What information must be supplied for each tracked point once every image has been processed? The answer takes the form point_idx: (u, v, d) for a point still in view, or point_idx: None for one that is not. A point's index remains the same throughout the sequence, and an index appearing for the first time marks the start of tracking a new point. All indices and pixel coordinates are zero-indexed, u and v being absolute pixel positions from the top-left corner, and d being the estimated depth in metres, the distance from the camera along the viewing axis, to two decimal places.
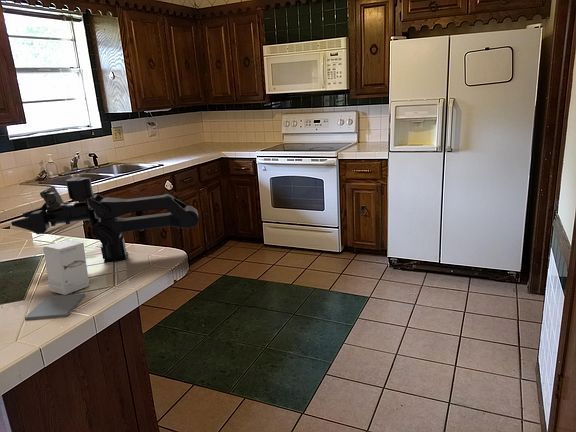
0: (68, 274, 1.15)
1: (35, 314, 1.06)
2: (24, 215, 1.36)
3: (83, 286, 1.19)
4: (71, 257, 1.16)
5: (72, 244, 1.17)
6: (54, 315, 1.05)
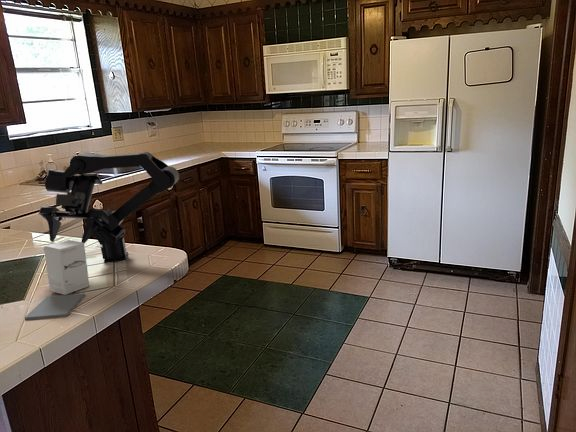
0: (68, 274, 1.15)
1: (35, 314, 1.06)
2: (52, 240, 1.27)
3: (83, 286, 1.19)
4: (72, 257, 1.16)
5: (73, 244, 1.17)
6: (54, 315, 1.05)
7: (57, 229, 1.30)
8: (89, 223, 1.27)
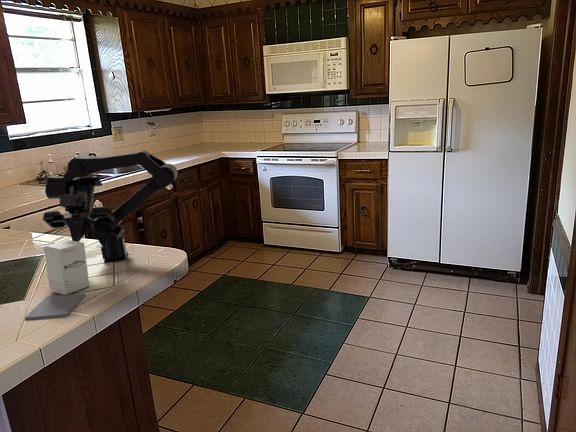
0: (68, 274, 1.15)
1: (35, 314, 1.06)
2: None
3: (83, 286, 1.19)
4: (72, 257, 1.16)
5: (73, 244, 1.17)
6: (54, 315, 1.05)
7: None
8: (80, 222, 1.26)
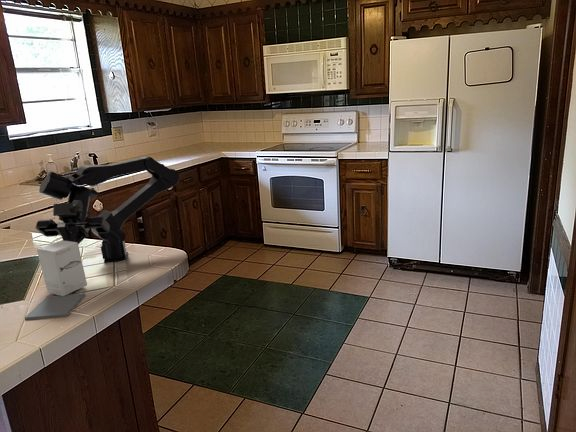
0: (65, 275, 1.14)
1: (35, 314, 1.06)
2: None
3: (81, 286, 1.19)
4: (67, 258, 1.14)
5: (66, 245, 1.15)
6: (54, 315, 1.05)
7: None
8: (74, 232, 1.23)
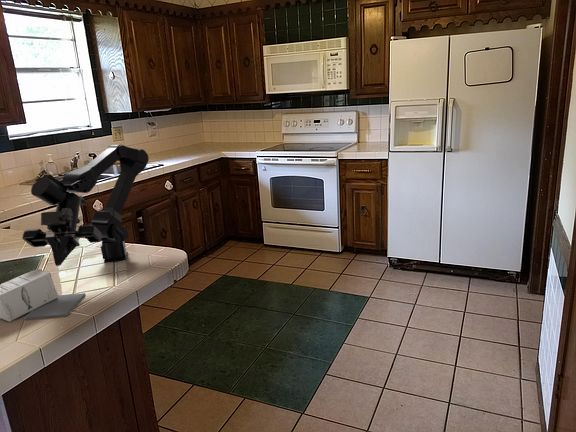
0: (37, 301, 1.09)
1: (35, 314, 1.06)
2: None
3: (50, 279, 1.12)
4: (17, 304, 1.05)
5: (0, 305, 1.03)
6: (54, 315, 1.05)
7: None
8: (63, 242, 1.15)
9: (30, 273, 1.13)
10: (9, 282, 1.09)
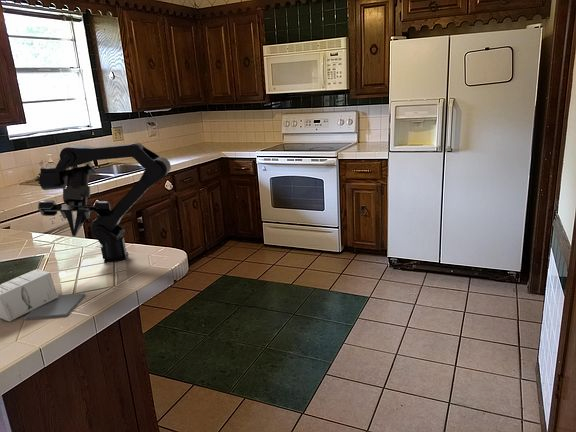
0: (37, 301, 1.09)
1: (35, 314, 1.06)
2: None
3: (50, 279, 1.12)
4: (17, 304, 1.05)
5: (0, 305, 1.03)
6: (54, 315, 1.05)
7: (74, 223, 1.29)
8: (80, 215, 1.28)
9: (30, 273, 1.13)
10: (9, 282, 1.09)
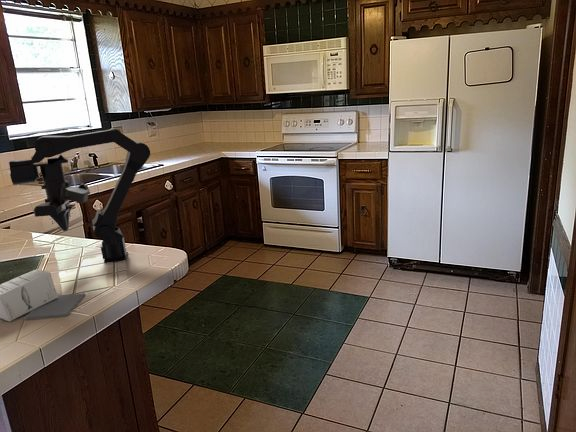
0: (37, 301, 1.09)
1: (35, 314, 1.06)
2: None
3: (50, 279, 1.12)
4: (17, 304, 1.05)
5: (0, 305, 1.03)
6: (54, 315, 1.05)
7: None
8: None
9: (30, 273, 1.13)
10: (9, 282, 1.09)
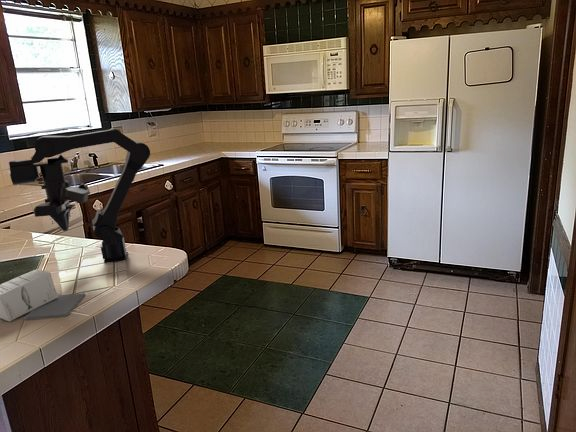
0: (37, 301, 1.09)
1: (35, 314, 1.06)
2: None
3: (50, 279, 1.12)
4: (17, 304, 1.05)
5: (0, 305, 1.03)
6: (54, 315, 1.05)
7: None
8: None
9: (30, 273, 1.13)
10: (9, 282, 1.09)
